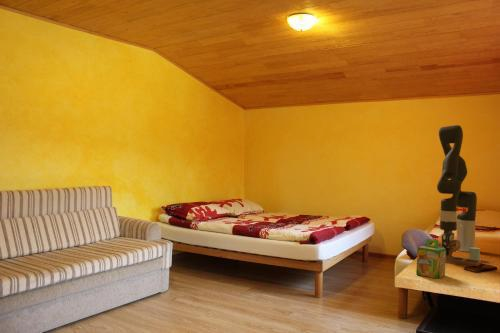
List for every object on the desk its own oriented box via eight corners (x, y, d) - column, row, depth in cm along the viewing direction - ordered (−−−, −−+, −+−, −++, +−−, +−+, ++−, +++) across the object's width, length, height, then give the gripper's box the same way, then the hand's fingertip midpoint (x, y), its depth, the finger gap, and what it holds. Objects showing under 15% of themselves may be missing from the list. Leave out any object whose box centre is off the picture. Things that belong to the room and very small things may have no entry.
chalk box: (415, 275, 175) (416, 239, 175) (423, 271, 182) (423, 237, 182) (439, 279, 169) (440, 242, 169) (445, 275, 176) (446, 239, 176)
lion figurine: (462, 258, 205) (463, 240, 206) (457, 259, 202) (458, 240, 202) (432, 253, 217) (433, 235, 217) (427, 253, 213) (428, 236, 213)
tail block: (470, 259, 214) (471, 247, 214) (479, 260, 212) (480, 248, 212) (469, 260, 211) (469, 248, 211) (478, 261, 208) (478, 249, 209)
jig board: (434, 256, 218) (434, 253, 218) (482, 263, 204) (482, 260, 204) (426, 259, 208) (426, 256, 208) (476, 267, 194) (476, 263, 194)
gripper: (444, 218, 216) (443, 251, 216) (436, 220, 205) (435, 255, 205) (460, 219, 211) (459, 254, 211) (452, 222, 200) (452, 258, 200)
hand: (447, 254), depth 208 cm, fingers closed on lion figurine, 5 cm apart
